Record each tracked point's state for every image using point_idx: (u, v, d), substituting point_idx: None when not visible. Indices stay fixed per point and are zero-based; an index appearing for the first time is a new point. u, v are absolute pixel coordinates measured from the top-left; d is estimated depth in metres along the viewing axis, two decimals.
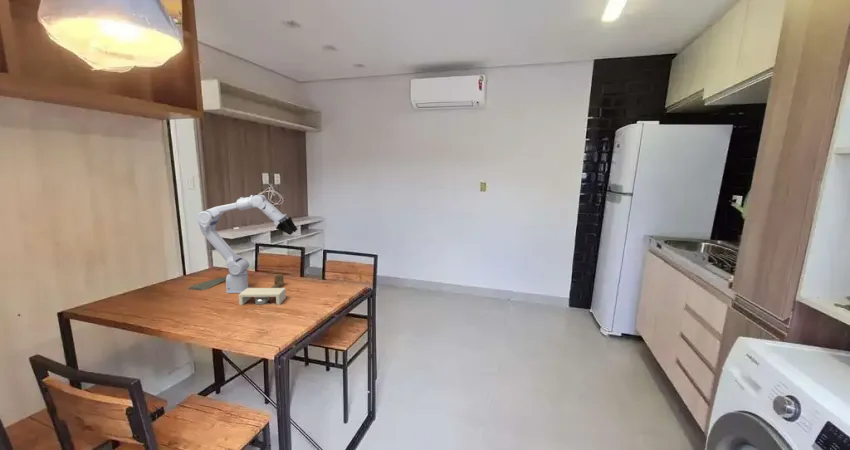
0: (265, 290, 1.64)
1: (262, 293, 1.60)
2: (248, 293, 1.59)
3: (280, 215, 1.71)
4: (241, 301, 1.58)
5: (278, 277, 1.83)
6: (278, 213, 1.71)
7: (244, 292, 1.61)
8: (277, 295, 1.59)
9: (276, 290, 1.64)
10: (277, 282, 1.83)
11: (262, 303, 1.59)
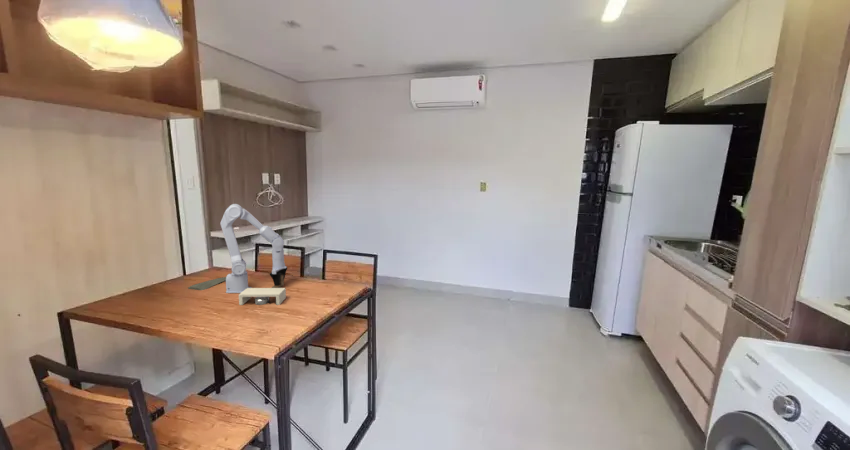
0: (265, 290, 1.64)
1: (262, 293, 1.60)
2: (248, 293, 1.59)
3: (281, 265, 1.82)
4: (241, 301, 1.58)
5: None
6: (281, 263, 1.82)
7: (244, 292, 1.61)
8: (277, 295, 1.59)
9: (276, 290, 1.64)
10: None
11: (262, 303, 1.59)
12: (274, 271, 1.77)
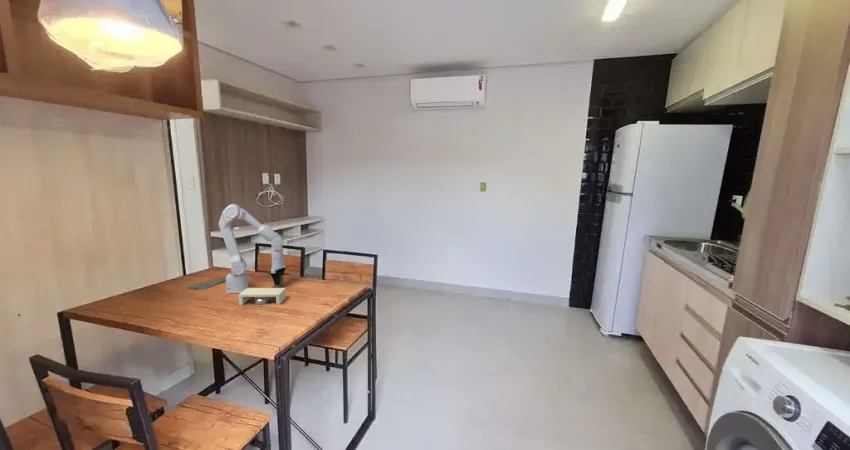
0: (265, 290, 1.64)
1: (262, 293, 1.60)
2: (248, 293, 1.59)
3: (281, 265, 1.81)
4: (241, 301, 1.58)
5: None
6: (281, 262, 1.81)
7: (244, 292, 1.61)
8: (277, 295, 1.59)
9: (276, 290, 1.64)
10: None
11: (262, 303, 1.59)
12: (273, 270, 1.76)
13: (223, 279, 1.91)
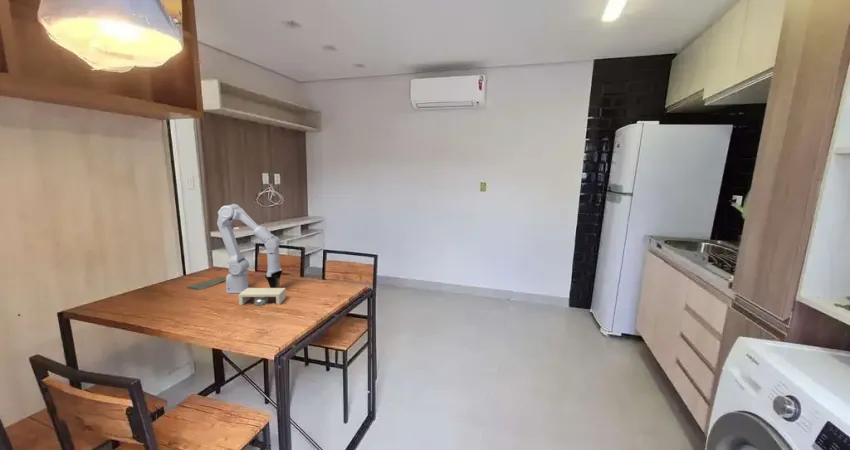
0: (265, 290, 1.64)
1: (262, 293, 1.60)
2: (248, 293, 1.59)
3: (277, 268, 1.75)
4: (241, 301, 1.58)
5: None
6: (277, 265, 1.75)
7: (244, 292, 1.61)
8: (277, 295, 1.59)
9: (276, 290, 1.64)
10: None
11: (261, 304, 1.58)
12: (269, 274, 1.70)
13: (223, 279, 1.91)
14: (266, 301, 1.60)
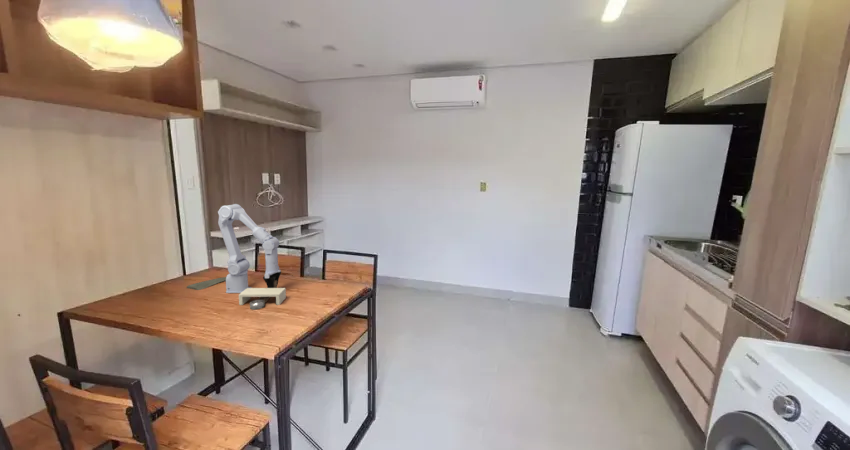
0: (265, 290, 1.64)
1: (262, 293, 1.60)
2: (248, 293, 1.59)
3: (275, 269, 1.73)
4: (241, 301, 1.58)
5: None
6: (275, 266, 1.73)
7: (244, 292, 1.61)
8: (277, 295, 1.59)
9: (276, 290, 1.64)
10: None
11: (257, 308, 1.54)
12: (267, 275, 1.67)
13: (223, 279, 1.91)
14: (262, 305, 1.56)
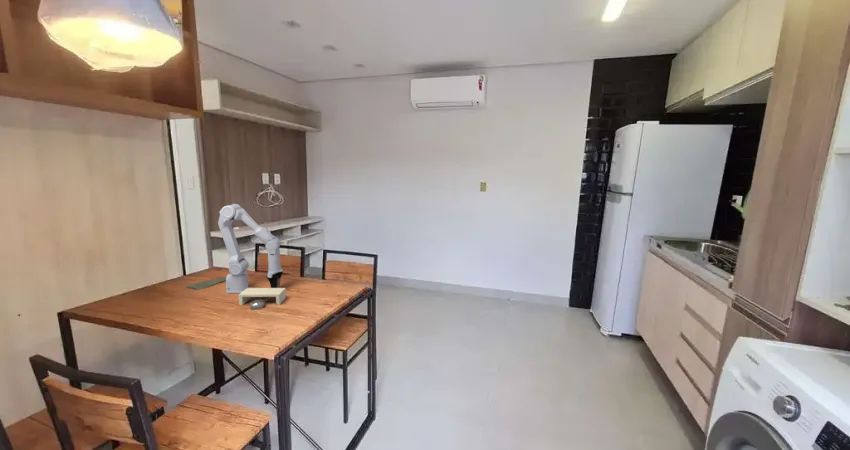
0: (265, 290, 1.64)
1: (262, 293, 1.60)
2: (248, 293, 1.59)
3: (277, 268, 1.76)
4: (241, 301, 1.58)
5: None
6: (278, 266, 1.76)
7: (244, 292, 1.61)
8: (277, 295, 1.59)
9: (276, 290, 1.64)
10: None
11: (257, 308, 1.54)
12: (270, 274, 1.71)
13: (222, 279, 1.91)
14: (262, 305, 1.56)
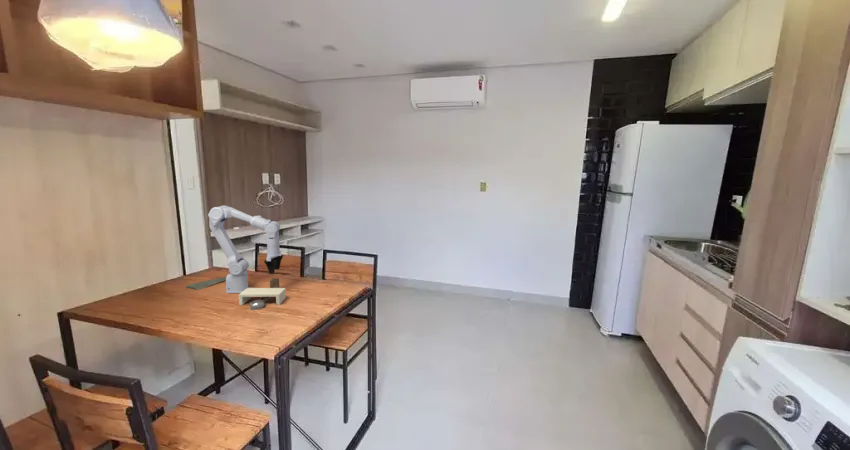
0: (265, 290, 1.64)
1: (262, 293, 1.60)
2: (248, 293, 1.59)
3: (277, 252, 1.75)
4: (241, 301, 1.58)
5: (274, 281, 1.76)
6: (277, 250, 1.75)
7: (244, 292, 1.61)
8: (277, 295, 1.59)
9: (276, 290, 1.64)
10: (273, 286, 1.76)
11: (257, 308, 1.54)
12: (269, 258, 1.69)
13: (222, 279, 1.91)
14: (262, 305, 1.56)
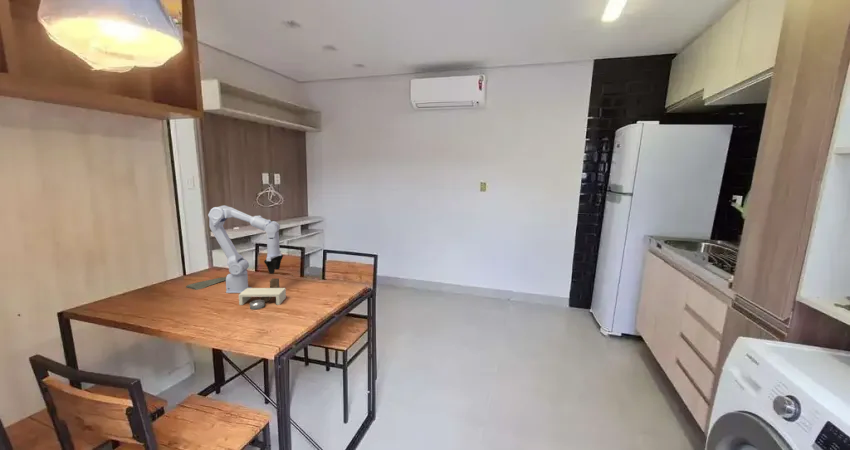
0: (265, 290, 1.64)
1: (262, 293, 1.60)
2: (248, 293, 1.59)
3: (277, 252, 1.75)
4: (241, 301, 1.58)
5: (274, 281, 1.76)
6: (277, 250, 1.75)
7: (244, 292, 1.61)
8: (277, 295, 1.59)
9: (276, 290, 1.64)
10: (273, 286, 1.76)
11: (257, 308, 1.54)
12: (269, 258, 1.69)
13: (222, 279, 1.91)
14: (262, 305, 1.56)
